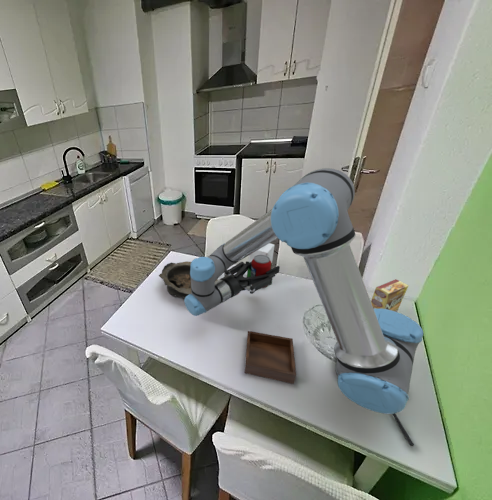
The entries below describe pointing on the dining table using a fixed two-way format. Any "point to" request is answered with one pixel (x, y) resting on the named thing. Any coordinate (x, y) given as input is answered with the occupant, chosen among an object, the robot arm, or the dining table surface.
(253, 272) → the beverage can
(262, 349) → the holder
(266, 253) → the milk carton
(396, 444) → the dining table surface
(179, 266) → the stone bowl
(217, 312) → the dining table surface
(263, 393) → the dining table surface
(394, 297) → the candy box
